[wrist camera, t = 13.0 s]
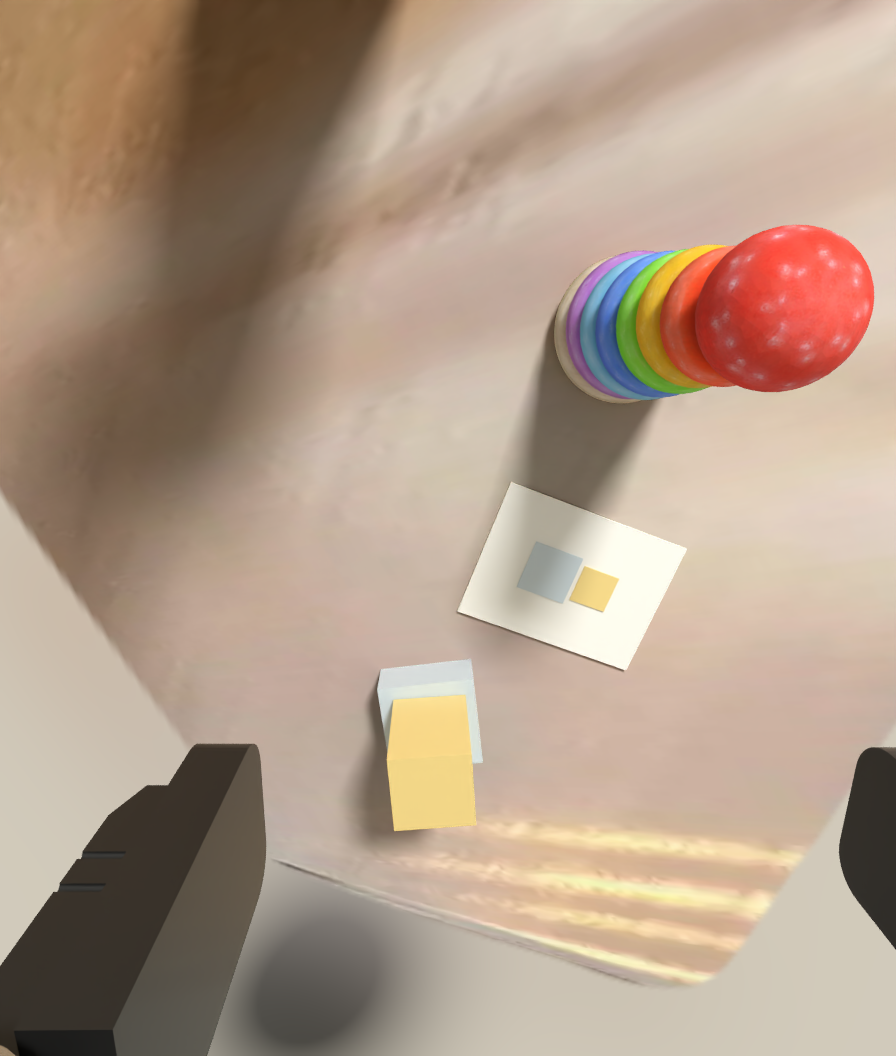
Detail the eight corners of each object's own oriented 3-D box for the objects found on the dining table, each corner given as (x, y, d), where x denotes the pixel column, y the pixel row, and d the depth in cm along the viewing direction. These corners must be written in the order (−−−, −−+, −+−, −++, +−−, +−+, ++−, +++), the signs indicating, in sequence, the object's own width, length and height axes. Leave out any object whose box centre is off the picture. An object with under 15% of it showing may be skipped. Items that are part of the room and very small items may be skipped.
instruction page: (457, 610, 40) (457, 612, 40) (510, 481, 38) (511, 482, 37) (625, 669, 41) (626, 671, 41) (685, 548, 39) (687, 549, 39)
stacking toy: (568, 418, 37) (697, 472, 19) (536, 280, 35) (648, 191, 17) (698, 381, 36) (959, 400, 18) (674, 239, 34) (941, 103, 16)
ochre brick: (399, 761, 40) (394, 831, 34) (393, 699, 38) (386, 760, 33) (469, 756, 40) (476, 825, 34) (465, 694, 38) (471, 754, 33)
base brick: (393, 744, 43) (390, 772, 40) (381, 666, 41) (377, 689, 38) (479, 735, 43) (482, 762, 40) (470, 656, 41) (473, 678, 38)
